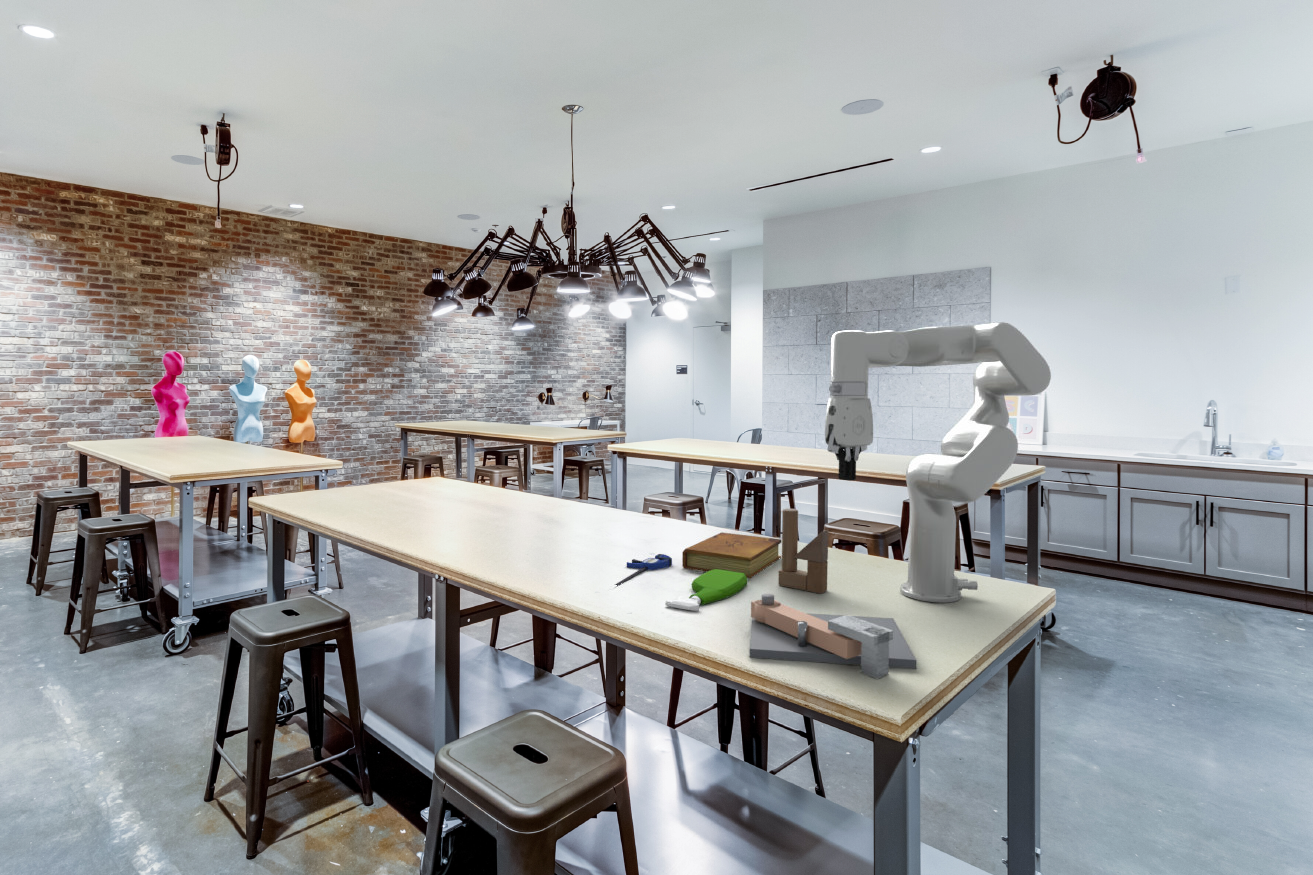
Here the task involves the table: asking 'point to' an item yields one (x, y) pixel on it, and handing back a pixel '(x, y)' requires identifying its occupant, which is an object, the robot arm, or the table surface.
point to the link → (816, 628)
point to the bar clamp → (648, 565)
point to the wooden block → (802, 557)
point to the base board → (785, 647)
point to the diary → (732, 554)
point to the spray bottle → (711, 589)
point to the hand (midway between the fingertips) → (847, 479)
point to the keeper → (865, 632)
